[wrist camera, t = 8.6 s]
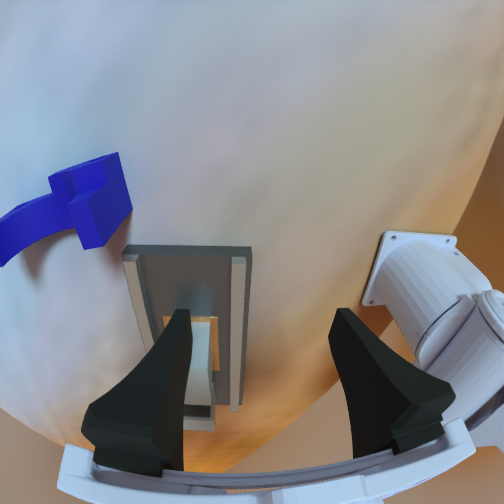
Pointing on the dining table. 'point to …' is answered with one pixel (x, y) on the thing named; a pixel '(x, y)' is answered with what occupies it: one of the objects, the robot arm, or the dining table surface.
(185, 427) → the small hollow grey box
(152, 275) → the rail
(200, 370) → the pale grey block
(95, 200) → the cable clip
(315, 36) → the dining table surface
